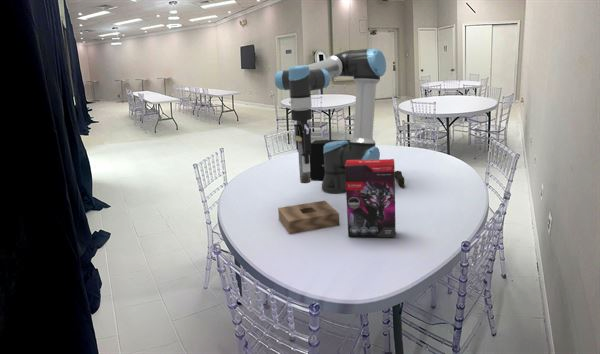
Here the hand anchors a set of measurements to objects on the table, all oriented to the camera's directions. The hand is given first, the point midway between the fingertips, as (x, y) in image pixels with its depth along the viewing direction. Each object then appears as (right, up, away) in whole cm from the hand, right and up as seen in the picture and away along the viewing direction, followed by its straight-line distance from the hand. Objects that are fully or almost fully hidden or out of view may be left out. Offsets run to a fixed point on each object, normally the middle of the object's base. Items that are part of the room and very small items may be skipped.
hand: (304, 170), depth 168 cm
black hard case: (+18, -3, +63) cm, 65 cm away
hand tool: (+48, -6, +48) cm, 68 cm away
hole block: (+1, -20, +6) cm, 21 cm away
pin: (0, -4, +1) cm, 5 cm away
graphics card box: (+24, -23, -9) cm, 35 cm away
